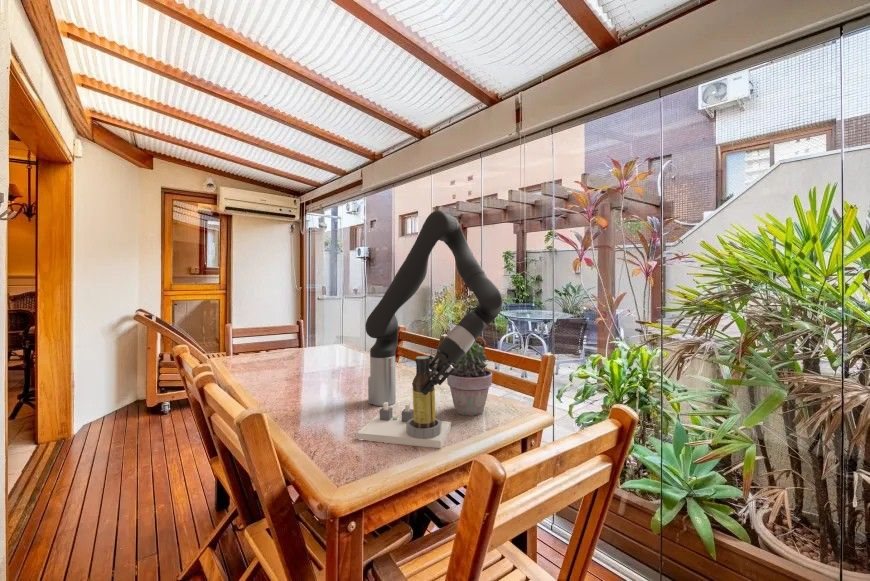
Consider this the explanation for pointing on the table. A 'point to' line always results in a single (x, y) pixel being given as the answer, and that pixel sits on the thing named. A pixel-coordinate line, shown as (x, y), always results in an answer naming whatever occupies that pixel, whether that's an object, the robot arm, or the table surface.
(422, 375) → the sauce bottle
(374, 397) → the robot arm
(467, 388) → the potted plant
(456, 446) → the table surface
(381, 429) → the breaker board
